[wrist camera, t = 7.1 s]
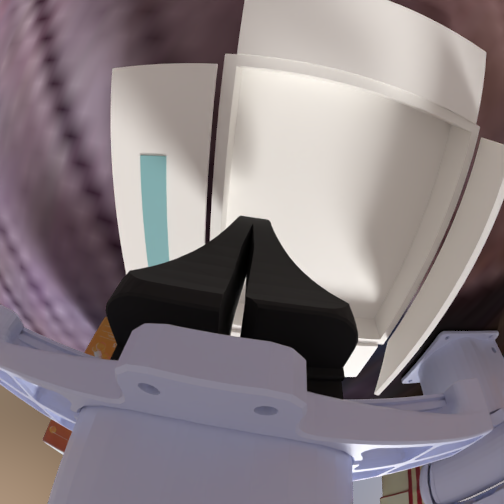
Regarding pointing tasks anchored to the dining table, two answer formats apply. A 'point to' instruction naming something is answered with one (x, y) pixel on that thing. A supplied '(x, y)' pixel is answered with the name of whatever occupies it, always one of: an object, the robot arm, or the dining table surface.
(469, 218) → the flap
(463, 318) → the dining table surface
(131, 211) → the flap
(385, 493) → the gift box
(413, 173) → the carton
